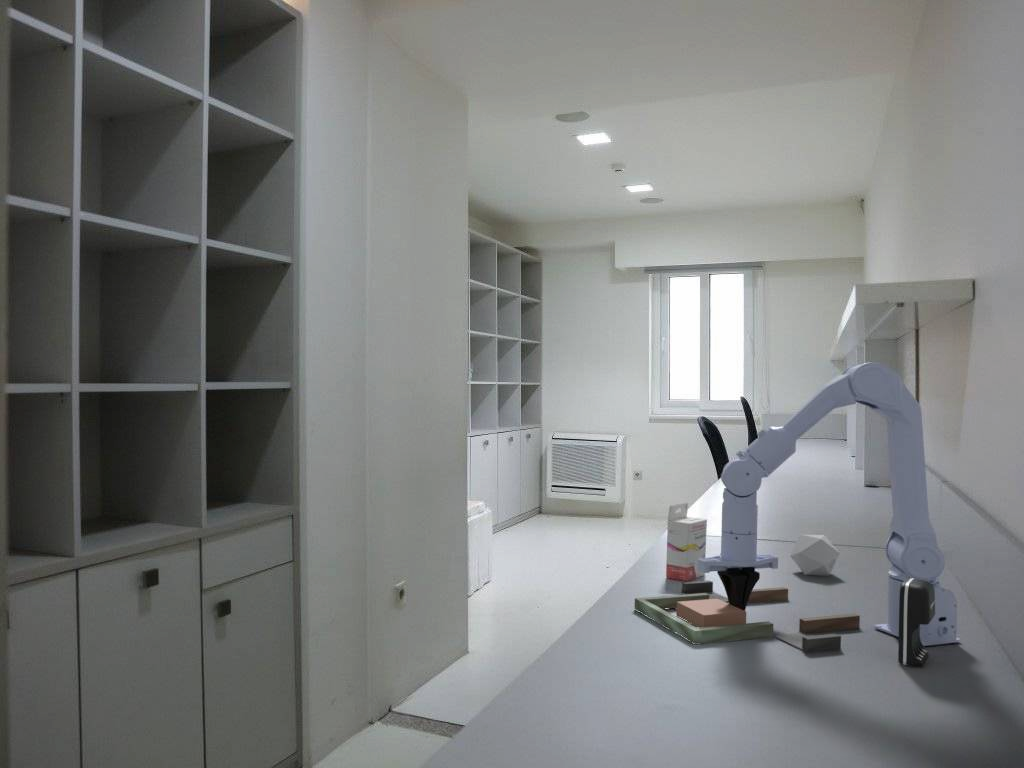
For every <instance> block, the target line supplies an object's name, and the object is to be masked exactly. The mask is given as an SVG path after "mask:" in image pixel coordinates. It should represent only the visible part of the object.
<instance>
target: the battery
mask: <svg viewBox="0 0 1024 768" xmlns="http://www.w3.org/2000/svg"><path fill="white" fill-rule="evenodd" d="M934 615H935V591H934V587H933V585H932V584H931V583H930V582H928V581H923V580H917V579H914V578H911V579H910V578H908V579H906V580H905V581H904V582H903V583H902V584H901V587H900V597H899V637H898V652H897V653H898V658H897V660H898V663H899V664H902V665H903V666H911V667H917V668H922V667H924V666H925V664H926V663H927V661H928V659H929V657H930V653H929V652H928V651H927V650H926V648H925V646H923V645H922V643H921V639H920V624H923V625H928V624H929V623H930V622H931V620H932V619H933V617H934Z"/></svg>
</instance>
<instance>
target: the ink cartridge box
mask: <svg viewBox="0 0 1024 768" xmlns="http://www.w3.org/2000/svg"><path fill="white" fill-rule="evenodd" d="M688 507H689V503H688V502H684V503H683V502H682V503H677V504H673V505H670V506H669V508H668V509H669V510H668V518H667V533H666V534H667V535H666V566H665V569H666V571H665V578H667V579H673V580H677V581H682V582H691V581H692V580H695V579H697V578H700V577H704V576H705V575H706V573H703V572H701V571H698V559H703V558H706V553H707V550H706V548H707V527H708V526H707V524H708V519H707V518H701V517H692V516H688ZM677 510H680V511H679V512H676V511H677Z"/></svg>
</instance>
